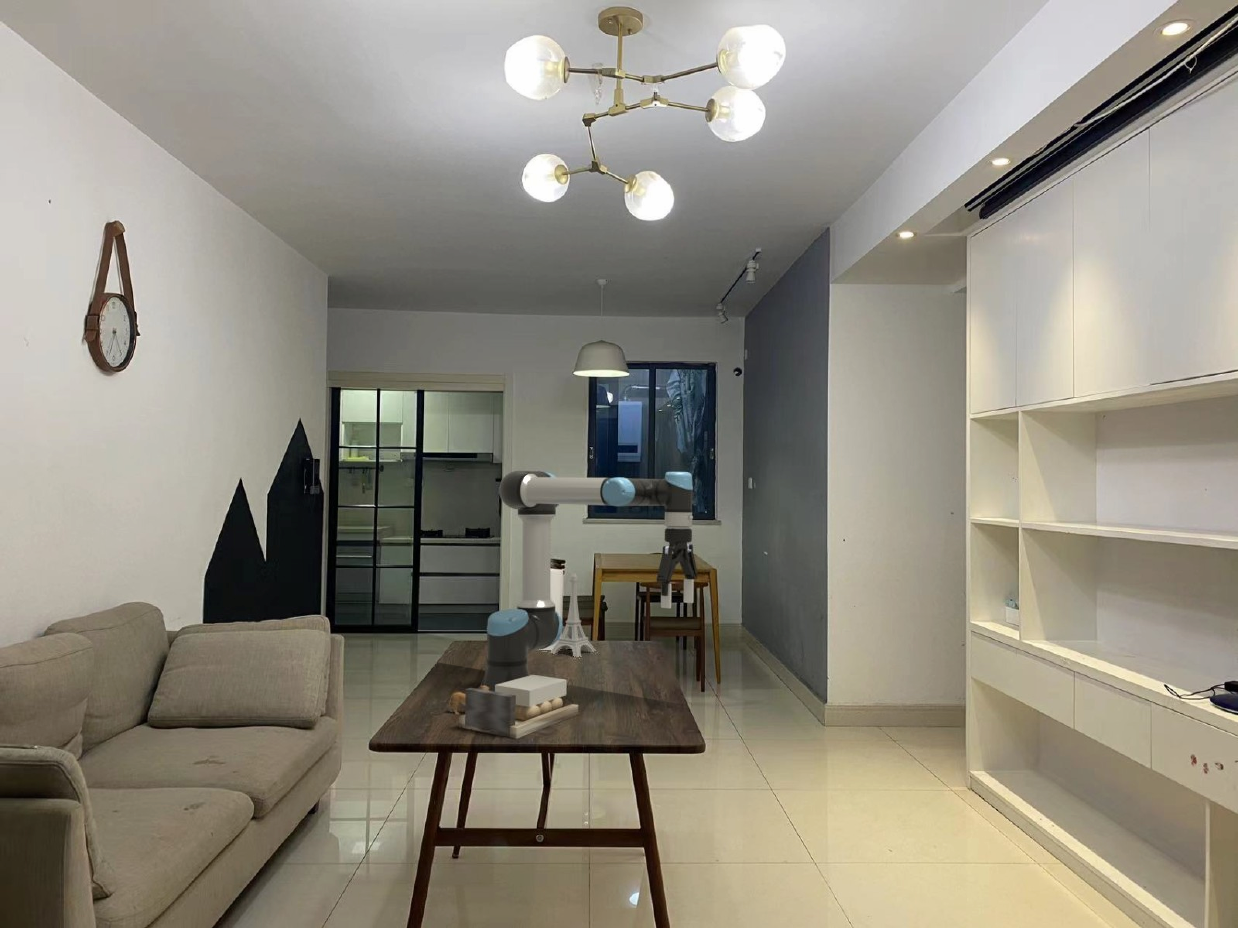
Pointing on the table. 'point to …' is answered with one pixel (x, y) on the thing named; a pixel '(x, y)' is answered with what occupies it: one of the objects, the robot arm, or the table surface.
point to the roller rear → (556, 704)
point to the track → (505, 714)
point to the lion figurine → (460, 699)
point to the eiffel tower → (573, 627)
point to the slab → (533, 689)
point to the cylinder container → (556, 595)
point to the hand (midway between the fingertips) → (677, 605)
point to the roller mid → (544, 707)
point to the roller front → (526, 712)
